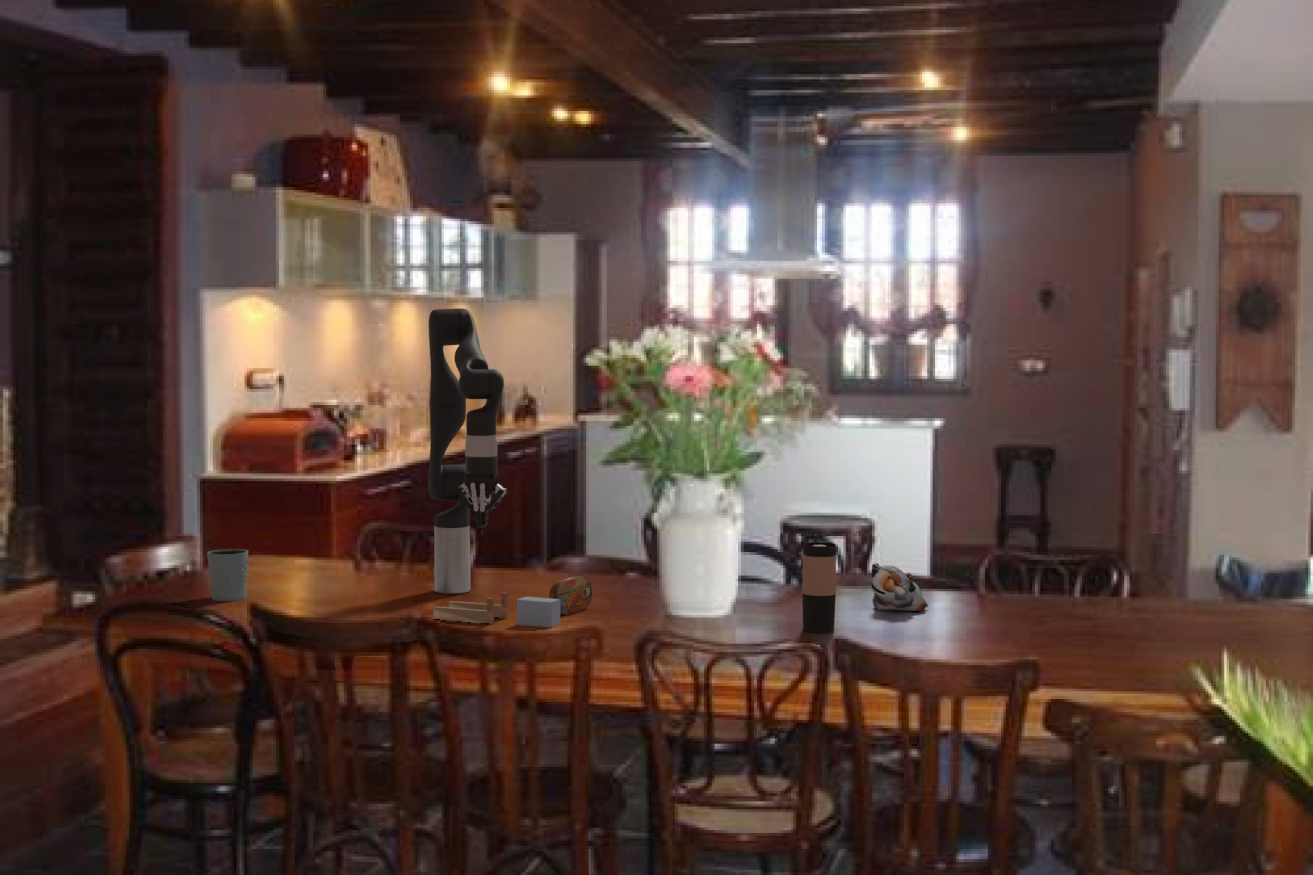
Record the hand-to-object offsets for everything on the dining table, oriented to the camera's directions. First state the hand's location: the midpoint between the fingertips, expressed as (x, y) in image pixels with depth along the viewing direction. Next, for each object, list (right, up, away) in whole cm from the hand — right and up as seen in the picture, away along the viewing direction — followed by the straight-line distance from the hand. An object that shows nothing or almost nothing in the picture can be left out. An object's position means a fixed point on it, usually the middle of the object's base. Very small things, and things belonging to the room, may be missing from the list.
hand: (481, 526), depth 363 cm
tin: (+20, -22, +12) cm, 32 cm away
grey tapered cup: (-67, -20, +28) cm, 76 cm away
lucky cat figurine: (+101, -22, +17) cm, 105 cm away
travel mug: (+79, -23, -9) cm, 83 cm away
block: (+14, -23, -4) cm, 27 cm away
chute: (-3, -22, +2) cm, 22 cm away
